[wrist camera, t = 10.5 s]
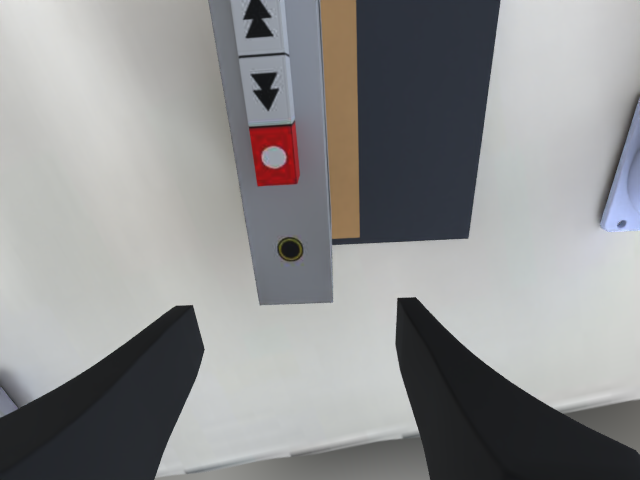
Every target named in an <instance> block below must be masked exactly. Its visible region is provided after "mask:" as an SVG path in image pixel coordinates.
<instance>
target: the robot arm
mask: <svg viewBox="0 0 640 480" xmlns="http://www.w3.org/2000/svg"><path fill="white" fill-rule="evenodd" d="M619 221H621V223H620V224H618V222H619ZM617 224H618V225H617ZM600 226H601V228H602V229H604V230H606V231H609V232H615V231H636V230H640V98H639V101H638V104H637V107H636V110H635V113H634V117H633V120H632V123H631V126H630V129H629V133H628V136H627V139H626V142H625V145H624V149H623V152H622V155H621V158H620V162H619V165H618V168H617V171H616V174H615V178H614V181H613V184H612V187H611V190H610V194H609V197H608V200H607V203H606V206H605V210H604V213H603V216H602V219H601V223H600ZM204 350H205V349H204V346H203V342H202V338H201V334H200V331H199V327H198V323H197V319H196V315H195V312H194V308H193V305H186V306H175V307H174V308H172V309H171V310H169V311H168V312H166V313H165V314H164V315H162V316H161V317H160V318H158V319H157V320H156V321H154V322H153V323H152V324H150V325H149V326H148V327H147V328H145V329H144V330H143V331H141V332H140V333H139V334H137V335H136V336H135V337H133V338H132V339H131V340H129V341H128V342H127V343H125V344H124V345H122V346H121V347H120V348H118V349H117V350H115V351H114V352H112V353H111V354H110V355H108V356H107V357H105V358H104V359H103V360H101V361H100V362H98V363H97V364H95V365H94V366H92V367H91V368H89V369H88V370H86V371H84V372H83V373H81V374H80V375H78V376H76V377H75V378H73V379H71V380H70V381H68V382H66V383H65V384H63V385H61V386H60V387H58V388H56V389H55V390H53V391H51V392H49V393H47V394H45V395H43V396H41V397H40V398H38V399H36V400H34V401H32V402H30V403H28V404H27V405H25V406H23V407H21V408H19V409H17V410H15V411H13V412H11V413H9V414H7V415H5V416H3V417H1V418H0V480H154V479H155V476H156V473H157V470H158V467H159V464H160V461H161V458H162V455H163V452H164V450H165V447H166V445H167V442H168V440H169V438H170V435H171V433H172V431H173V429H174V426H175V424H176V422H177V420H178V418H179V415H180V413H181V411H182V409H183V406H184V404H185V402H186V400H187V398H188V395H189V393H190V391H191V389H192V386H193V384H194V382H195V379H196V377H197V374H198V371H199V368H200V364H201V361H202V357H203V354H204ZM396 350H397V356H398V361H399V366H400V371H401V375H402V378H403V381H404V385H405V388H406V391H407V394H408V398H409V401H410V404H411V407H412V410H413V414H414V417H415V420H416V423H417V426H418V430H419V433H420V436H421V440H422V444H423V448H424V452H425V457H426V461H427V466H428V471H429V475H430V480H640V455H639V454H638V452H637V451H636V450H634V449H632V448H630V447H628V446H626V445H623V444H621V443H619V442H617V441H615V440H613V439H611V438H609V437H607V436H605V435H603V434H601V433H599V432H596V431H594V430H592V429H590V428H588V427H586V426H584V425H582V424H580V423H579V422H577V421H575V420H573V419H571V418H570V417H568V416H566V415H564V414H562V413H560V412H559V411H557V410H555V409H553V408H552V407H550V406H548V405H546V404H545V403H543V402H541V401H540V400H538V399H536V398H535V397H533V396H532V395H530V394H528V393H527V392H525V391H524V390H522V389H521V388H519V387H517V386H516V385H514V384H513V383H511V382H510V381H509V380H507V379H506V378H504V377H503V376H501V375H500V374H499V373H497V372H496V371H495V370H493V369H492V368H491V367H489V366H488V365H486V364H485V363H484V362H483V361H481V360H480V359H479V358H478V357H476V356H475V355H474V354H473V353H472V352H470V351H469V350H468V349H467V348H466V347H465V346H464V345H462V344H461V343H460V342H459V341H458V340H457V339H456V338H455V337H454V336H453V335H452V334H451V333H450V332H449V331H448V330H447V329H446V328H444V327H443V326H442V325H441V323H440V322H439V321H438V320H437V319H436V318H435V317H434V316H433V315H432V314H431V313H430V312H429V311H428V310H427V309H426V308H425V307H424V306H423V304H422V303H421V302H420V301H419V300H418V299H417V298H416V297H413V298H398V301H397V322H396Z"/></svg>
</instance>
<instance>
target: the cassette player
mask: <svg viewBox="0 0 640 480" xmlns="http://www.w3.org/2000/svg"><path fill="white" fill-rule="evenodd" d="M208 2H209V7H210V13H211V19H212V25H213V31H214V37H215V43H216V49H217V55H218V61H219V67H220V73H221V79H222V85H223V91H224V96H225V102H226V108H227V114H228V120H229V126H230V132H231V138H232V144H233V150H234V156H235V162H236V168H237V174H238V180H239V186H240V191H241V197H242V203H243V209H244V215H245V221H246V227H247V233H248V239H249V245H250V251H251V257H252V263H253V269H254V275H255V280H256V286H257V292H258V298H259V304H260V305H278V304H305V303H331V302H333V276H332V223H331V198H330V178H329V159H328V140H327V121H326V101H325V82H324V63H323V43H322V24H321V5H320V0H208Z"/></svg>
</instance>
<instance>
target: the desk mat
mask: <svg viewBox="0 0 640 480" xmlns="http://www.w3.org/2000/svg"><path fill="white" fill-rule="evenodd" d="M320 5H321V24H322V43H323V63H324V82H325V101H326V121H327V140H328V159H329V178H330V198H331V223H332V245H341V244H362V243H383V242H404V241H425V240H446V239H467V238H468V237H469V230H470V222H471V215H472V207H473V200H474V193H475V185H476V178H477V170H478V163H479V155H480V148H481V141H482V133H483V126H484V118H485V111H486V104H487V96H488V89H489V81H490V74H491V67H492V59H493V52H494V44H495V37H496V29H497V22H498V15H499V7H500V0H320Z"/></svg>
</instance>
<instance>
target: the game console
mask: <svg viewBox="0 0 640 480" xmlns="http://www.w3.org/2000/svg"><path fill="white" fill-rule="evenodd" d="M17 409H18V407H17V406H16V405H15V404H14V403H13V401H12V400H11V399H10V398H9V396H8V395H7V394H6V393H5V391H4V390H3V389H2V388H1V387H0V418H1V417H3V416H5V415H7V414H9V413H11V412H13V411H15V410H17Z"/></svg>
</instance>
